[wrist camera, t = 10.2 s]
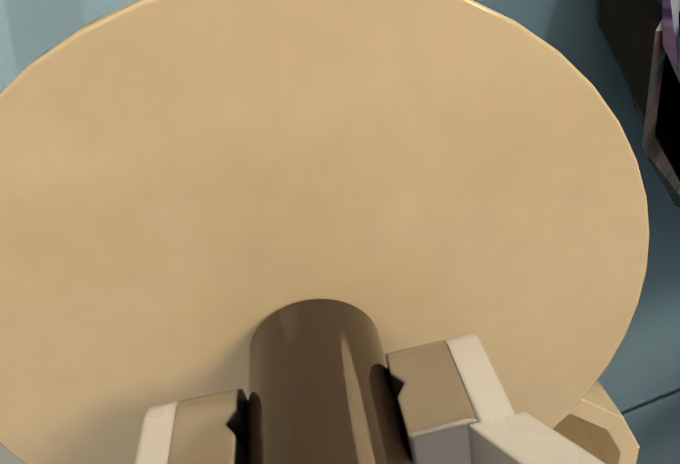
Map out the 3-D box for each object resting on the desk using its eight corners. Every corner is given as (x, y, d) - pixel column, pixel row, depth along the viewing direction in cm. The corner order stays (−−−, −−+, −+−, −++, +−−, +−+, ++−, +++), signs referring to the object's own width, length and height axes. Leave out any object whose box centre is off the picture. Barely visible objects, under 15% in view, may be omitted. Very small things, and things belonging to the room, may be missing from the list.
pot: (362, 477, 33) (387, 616, 27) (299, 257, 24) (316, 394, 17) (547, 433, 33) (615, 561, 27) (559, 197, 24) (669, 311, 17)
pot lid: (128, 536, 14) (75, 812, 10) (-244, 71, 7) (-918, 333, 3) (591, 428, 14) (732, 657, 10) (660, -134, 7) (1197, -149, 3)
